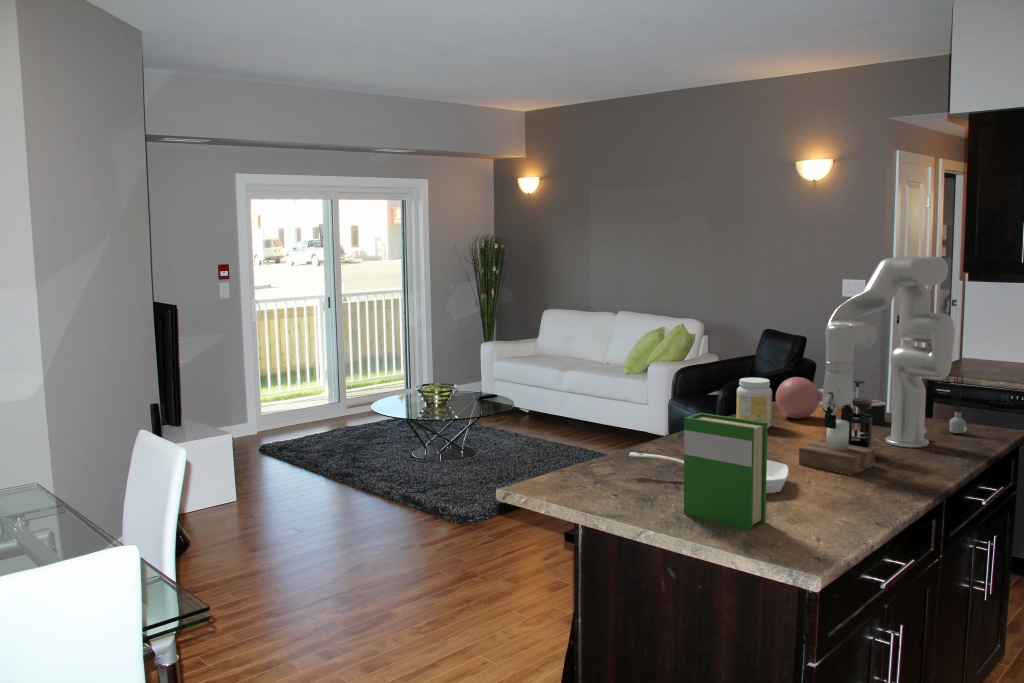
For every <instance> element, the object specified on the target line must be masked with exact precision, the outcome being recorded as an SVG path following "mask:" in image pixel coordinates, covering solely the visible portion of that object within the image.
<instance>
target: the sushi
mask: <svg viewBox="0 0 1024 683" xmlns="http://www.w3.org/2000/svg"><path fill="white" fill-rule="evenodd" d="M871 400H872V401H873V403H871V409H869V410H861V409H859V408H858V413H859V414H869V415H870V416H872V424H875V425H884V424H885V423H886V422H885V421H886V402H884V401H881V400H875V399H871ZM858 419H861V418H858Z"/></svg>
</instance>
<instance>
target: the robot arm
mask: <svg viewBox="0 0 1024 683" xmlns="http://www.w3.org/2000/svg"><path fill="white" fill-rule="evenodd" d="M948 273H949V266H948V263H947V261H946V260H945V259H944V258H943V257H940V256H899V257H888V258H884V259H882V260H881V261H880V262H879V263H878V265H877V266H876V268H875V269H874V271H873V273H872V275H871V277H870V278H869V279H868V281H867V282H866V285H865V286H864V288H863V290H862V291H861V292H859V293H857V294H856V295H854V296H852V297H851V298H849V299H847V300H846V301H845V302H842V303H841V304H840V305H839V306H838V307H837V308H836V309H835V311H834V312H833V313H832V315H831V317H830V318H829V320H828V322H827V324H826V326H825V332H824V335H825V375H824V379H823V388H822V392H823V401H821V403H822V410H823V414H824V427H825V428H826V429H827V428H832V429H835V428H836V419H837V415H836V412H837V410H838V409H839V408H841V413H840V420H845V421H848V422H849V423H851V422H853V419H854V417H853V413H854V411H853V410H854V406H855V405H853V403H854V401H855V400H854V398H856V391H854V390H855V389H854V387H855V386H854V384H855V383H853V380H854V372H855V369H854V364H855V349H857V348H858V349H859V348H860V349H865V348H869V347H871V346H873V345H874V344H875V343H876V342H877V338H878V331H877V328H876V327H875V326H874V325H873V324H871V323H869V322H865V321H855V320H856V319H858V318H860V317H863V316H867V315H870V314H874V313H877V312H879V311H883V310H885V309H887V308H888V307H889V306H890V304H891V303H892V301H893V299H894V297H896V296H895V295H896V294H897V292H898V291H899V294H900V298H901V299H900V308H899V309H900V310H899V322H898V335H899V337H900V338H901V339H902V340H904V341H905V342H907V341H908V342H913V343H926V344H927V343H928V344H931V347H928V346H927V347H925V346H918V345H916V346H915V345H900V346H898V347H896V348H894V350H892V352H891V354H890V356H889V357H890V360H889V361H890V362H889V363H890V367H891V368H890V369H891V375H892V398H891V400H892V402H891V424H890V425H891V426H890V427H891V429H890V430H891V431H890V435H888V436H886V437H885V443H887V444H889V445H892V446H896V447H902V448H924V447H925V448H926V447H928V446H929V444H930V441H929V440H928V439H927V438H925V434H926V433H927V429H926V427H925V419H926V418H925V416H926V415H925V413H926V397H927V396H926V394H927V392H926V387H925V384H924V382H923V381H922V379H921V378H925V379H935V380H942V379H945V378H946V376H947V377H948V376H949V374H950V372H951V369H952V363H953V355H954V345H955V344H954V342H955V333H956V332H955V331H956V330H955V322H954V320H953V319H952V317H951V316H950V315H948V314H946V313H940V312H931V304H932V295H931V293H930V291H929V289H928V286H938V285H940V284H942V283H943V282H944V281H945V280H946V278H947V277H948Z"/></svg>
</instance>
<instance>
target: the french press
mask: <svg viewBox="0 0 1024 683" xmlns="http://www.w3.org/2000/svg"><path fill="white" fill-rule="evenodd" d="M865 383H866V381H864V380H859V379H858V380H857V379H855V380H854V379H853V384H855V388H856V396H855V398H854V400H855V401H854V403H853V406H855V412H853V422H851V423H849V443H848V444H849V445H855V446H860V447H866V448H871V449H872V426H873V425H872V416H870V415H869V414H859V412H858V410H859V409H861V410H869V409H871V403H873V401H872V400H873V399H868V398H862V397H861V398H860V397H858V395H859V388H860V384H865ZM859 418H861V419H859ZM853 424H855V429H854V430H853ZM858 424H860V425H859V428H860V429H859V431H858V430H857V429H858V428H857V427H858ZM852 439H853V440H852ZM854 439H855V440H854Z"/></svg>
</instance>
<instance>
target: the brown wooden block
mask: <svg viewBox="0 0 1024 683" xmlns="http://www.w3.org/2000/svg"><path fill="white" fill-rule="evenodd" d="M826 440H827V439H826ZM826 440H825V439H822V440H819V441H816V442H813V443H809V444H807V445H803V446H801V447H799V448H798V465H799V464H801V465H800V466H803V465H806V466H805V467H808V466H811V467H810V468H813V467H815V468H814V469H818V468H820V469H819V470H823V469H825V470H824V471H827V470H830V471H829V472H832V471H836V472H835V473H837V472H841V473H840V474H842V473H845V474H844V475H846V474H850V475H849V476H853V475H852V474H854V475H856V474H859V473H861V472H863V471H862V470H864V471H865V469H866V470H868V469H871V468H873V467H875V464H876V449H875V448H872V447H871V448H866V447H860V446H855V445H849V444H848V450H847V451H834V450H829V449H827V448H826ZM872 466H873V467H872ZM870 467H871V468H870ZM867 468H868V469H867ZM860 471H861V472H860ZM858 472H859V473H858ZM855 473H856V474H855Z"/></svg>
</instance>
